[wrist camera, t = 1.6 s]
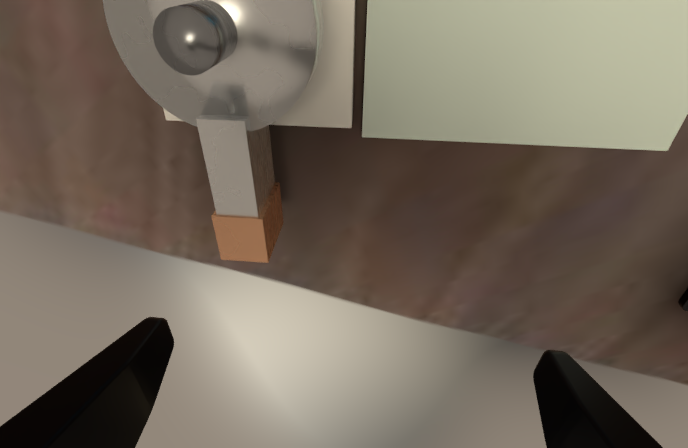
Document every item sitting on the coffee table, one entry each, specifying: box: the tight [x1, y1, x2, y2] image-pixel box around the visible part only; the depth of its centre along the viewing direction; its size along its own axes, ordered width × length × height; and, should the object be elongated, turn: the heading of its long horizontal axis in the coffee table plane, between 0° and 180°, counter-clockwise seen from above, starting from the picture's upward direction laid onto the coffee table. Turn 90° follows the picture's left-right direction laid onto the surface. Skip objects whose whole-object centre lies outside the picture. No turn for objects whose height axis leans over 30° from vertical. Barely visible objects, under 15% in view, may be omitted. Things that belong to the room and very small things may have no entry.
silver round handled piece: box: [103, 0, 324, 263], centre depth 14 cm, size 13×7×5 cm, turn 179°
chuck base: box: [163, 0, 356, 128], centre depth 15 cm, size 9×9×2 cm
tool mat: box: [362, 0, 688, 151], centre depth 15 cm, size 10×14×1 cm
